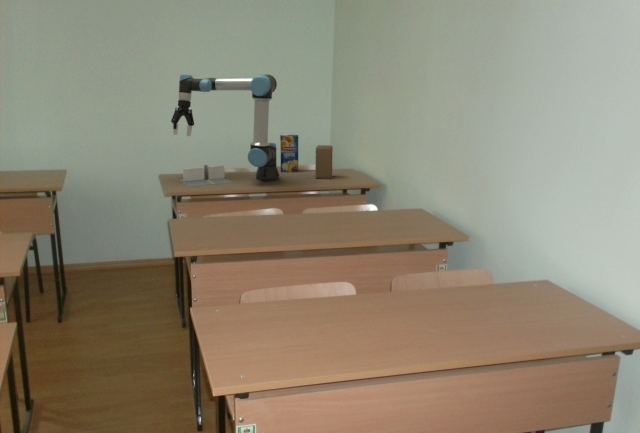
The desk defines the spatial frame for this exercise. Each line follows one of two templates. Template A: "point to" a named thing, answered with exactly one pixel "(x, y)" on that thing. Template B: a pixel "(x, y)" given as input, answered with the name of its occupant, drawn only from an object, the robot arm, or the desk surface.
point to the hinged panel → (193, 174)
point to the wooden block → (324, 161)
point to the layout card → (205, 182)
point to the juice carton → (289, 153)
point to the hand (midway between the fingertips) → (182, 135)
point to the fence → (214, 172)
